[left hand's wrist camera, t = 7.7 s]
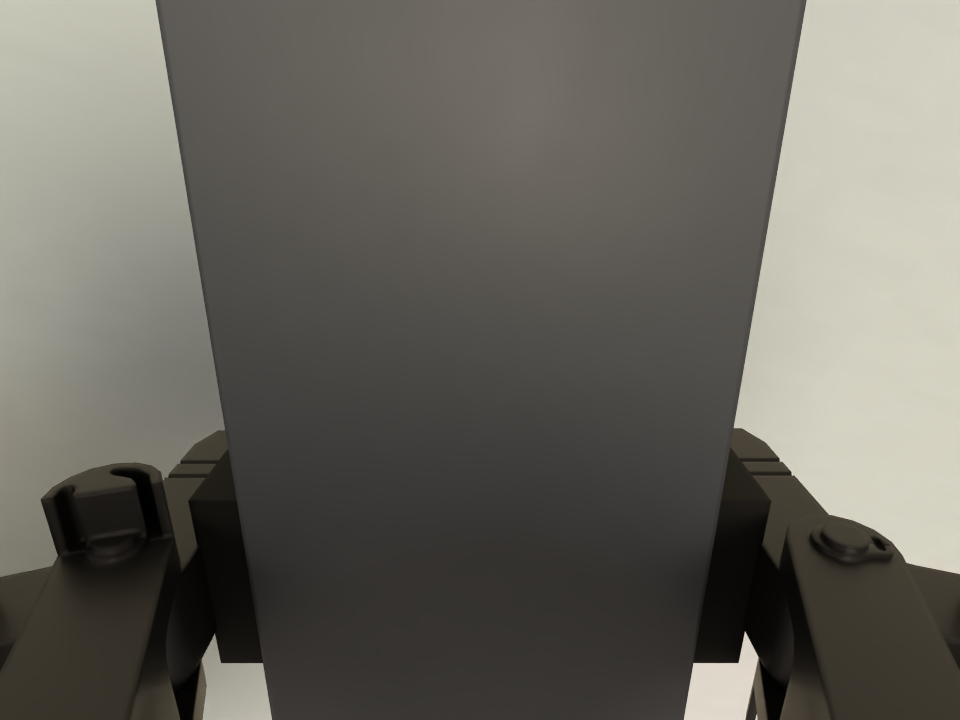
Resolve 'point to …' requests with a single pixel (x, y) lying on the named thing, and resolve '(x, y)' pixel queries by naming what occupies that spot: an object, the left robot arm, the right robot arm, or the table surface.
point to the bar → (479, 332)
